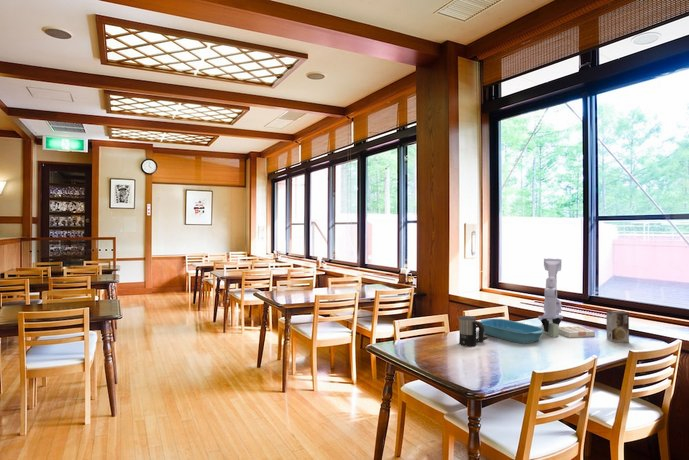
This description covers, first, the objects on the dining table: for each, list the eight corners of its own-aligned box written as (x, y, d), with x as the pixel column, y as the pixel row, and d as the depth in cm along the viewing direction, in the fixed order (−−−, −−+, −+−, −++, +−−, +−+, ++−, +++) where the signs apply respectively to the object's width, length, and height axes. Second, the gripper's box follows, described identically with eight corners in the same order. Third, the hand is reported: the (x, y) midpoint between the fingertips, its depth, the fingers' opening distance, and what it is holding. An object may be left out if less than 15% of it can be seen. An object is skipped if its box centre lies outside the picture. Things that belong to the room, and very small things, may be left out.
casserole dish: (551, 341, 241) (551, 328, 241) (528, 347, 228) (528, 334, 228) (494, 328, 271) (494, 316, 271) (471, 333, 258) (471, 321, 258)
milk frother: (456, 345, 232) (456, 318, 231) (463, 338, 245) (463, 312, 245) (484, 349, 225) (484, 320, 225) (489, 341, 239) (489, 315, 239)
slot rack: (553, 331, 260) (553, 326, 260) (578, 330, 263) (578, 325, 263) (569, 337, 247) (569, 332, 246) (595, 336, 249) (595, 331, 249)
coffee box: (622, 339, 243) (623, 310, 243) (629, 342, 237) (629, 313, 236) (605, 338, 244) (606, 310, 244) (611, 341, 238) (611, 312, 237)
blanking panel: (543, 332, 258) (543, 321, 258) (547, 332, 259) (547, 320, 259) (553, 337, 248) (553, 325, 248) (558, 336, 249) (558, 324, 249)
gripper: (543, 310, 248) (543, 333, 248) (566, 309, 250) (566, 332, 251) (536, 307, 255) (536, 330, 255) (558, 306, 257) (558, 329, 258)
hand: (550, 331), depth 253 cm, fingers open, 5 cm apart
